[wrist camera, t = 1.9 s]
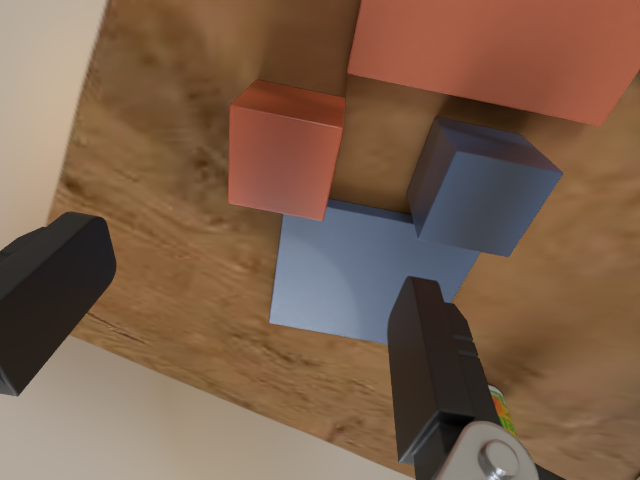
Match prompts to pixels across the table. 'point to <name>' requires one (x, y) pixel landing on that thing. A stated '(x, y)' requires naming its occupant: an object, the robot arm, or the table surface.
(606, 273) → the table surface
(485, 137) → the slate block
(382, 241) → the slate mat
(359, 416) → the table surface
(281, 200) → the terracotta block
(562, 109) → the terracotta mat
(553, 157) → the table surface
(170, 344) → the table surface
